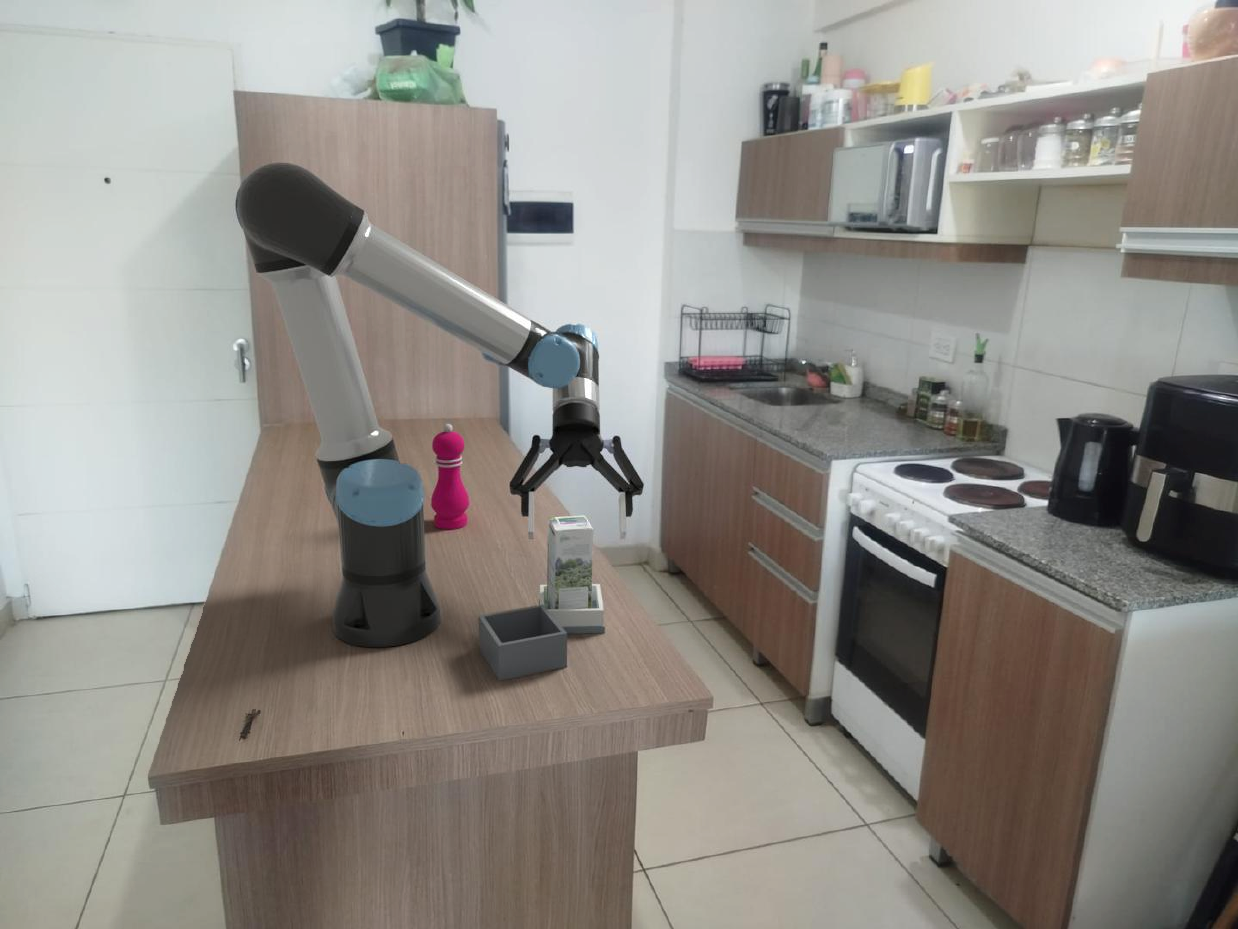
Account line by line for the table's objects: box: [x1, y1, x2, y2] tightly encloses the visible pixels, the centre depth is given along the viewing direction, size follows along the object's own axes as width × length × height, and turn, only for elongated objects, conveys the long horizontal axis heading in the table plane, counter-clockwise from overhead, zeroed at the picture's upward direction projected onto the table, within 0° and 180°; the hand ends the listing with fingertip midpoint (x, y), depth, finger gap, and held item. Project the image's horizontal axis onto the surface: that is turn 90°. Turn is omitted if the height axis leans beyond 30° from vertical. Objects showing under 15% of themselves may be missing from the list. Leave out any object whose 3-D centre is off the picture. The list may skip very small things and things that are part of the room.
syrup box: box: [546, 514, 594, 609], centre depth 127 cm, size 6×6×14 cm
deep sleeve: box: [478, 604, 568, 682], centre depth 117 cm, size 9×9×5 cm
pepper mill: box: [430, 423, 470, 530], centre depth 164 cm, size 7×7×20 cm
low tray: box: [538, 583, 606, 634], centre depth 129 cm, size 10×10×4 cm
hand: (577, 535), depth 127 cm, fingers open, 13 cm apart
